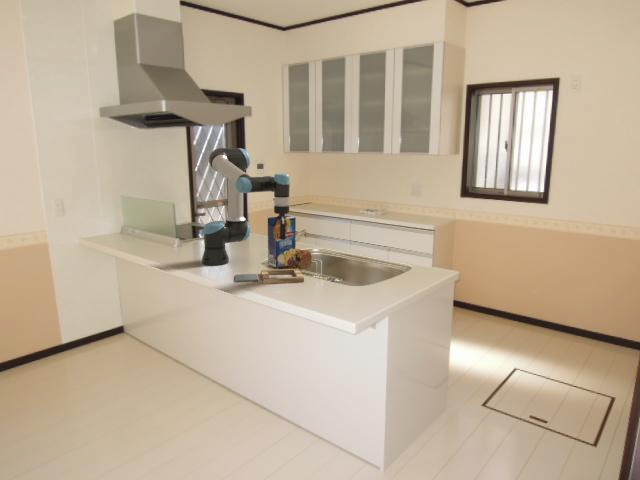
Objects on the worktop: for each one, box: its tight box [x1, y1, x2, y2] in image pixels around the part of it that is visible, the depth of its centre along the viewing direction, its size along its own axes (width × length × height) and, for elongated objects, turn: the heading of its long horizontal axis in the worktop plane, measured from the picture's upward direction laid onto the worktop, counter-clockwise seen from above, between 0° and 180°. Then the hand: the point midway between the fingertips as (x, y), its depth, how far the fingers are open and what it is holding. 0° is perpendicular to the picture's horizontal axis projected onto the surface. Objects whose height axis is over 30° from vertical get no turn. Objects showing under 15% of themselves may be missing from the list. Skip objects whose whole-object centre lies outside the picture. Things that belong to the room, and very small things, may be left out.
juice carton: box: [267, 215, 297, 268], centre depth 231 cm, size 12×8×24 cm, turn 130°
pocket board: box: [260, 268, 305, 285], centre depth 234 cm, size 18×20×2 cm
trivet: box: [234, 273, 259, 283], centre depth 232 cm, size 11×11×1 cm
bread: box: [282, 248, 313, 271], centre depth 257 cm, size 19×11×10 cm, turn 51°
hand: (281, 250), depth 232 cm, fingers open, 4 cm apart
